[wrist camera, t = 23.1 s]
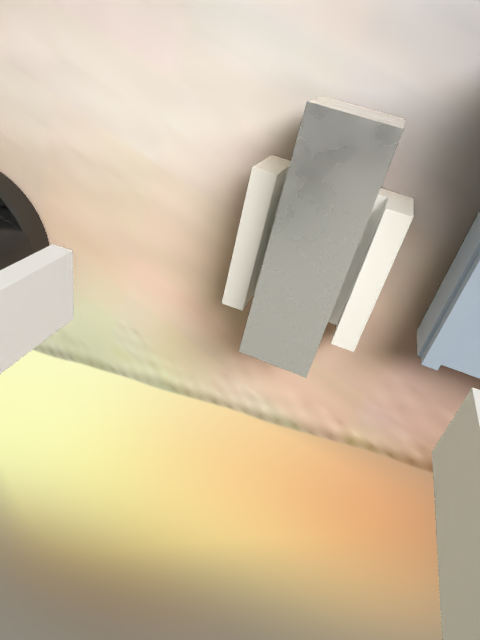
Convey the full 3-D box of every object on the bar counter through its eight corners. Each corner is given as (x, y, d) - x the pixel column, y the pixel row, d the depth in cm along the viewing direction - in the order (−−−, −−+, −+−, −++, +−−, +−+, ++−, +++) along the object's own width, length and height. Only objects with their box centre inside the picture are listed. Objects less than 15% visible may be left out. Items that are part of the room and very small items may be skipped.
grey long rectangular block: (318, 341, 39) (306, 377, 34) (258, 318, 39) (238, 351, 35) (405, 118, 29) (403, 128, 24) (323, 95, 30) (307, 101, 25)
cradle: (241, 279, 40) (221, 303, 36) (271, 154, 35) (252, 166, 30) (360, 321, 39) (353, 352, 35) (413, 198, 33) (413, 217, 29)
